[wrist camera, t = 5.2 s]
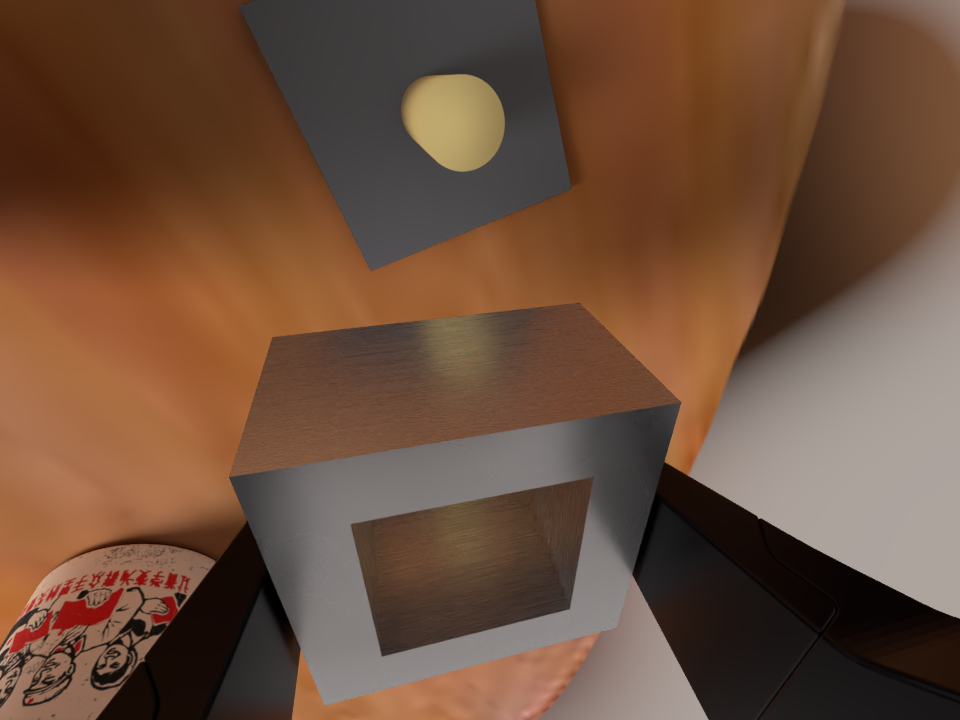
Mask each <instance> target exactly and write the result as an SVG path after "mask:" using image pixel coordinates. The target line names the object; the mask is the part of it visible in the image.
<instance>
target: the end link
mask: <svg viewBox="0 0 960 720" xmlns="http://www.w3.org/2000/svg"><path fill="white" fill-rule="evenodd" d="M680 405H681V402H680V401H679V400H678V399H677V398H676V397H675V396H674V395H673V394H672V393H671V392H670V391H669V390H668V389H667V388H666V387H665V386H664V385H663V384H662V383H661V382H660V381H659V380H658V379H657V378H656V377H655V376H654V375H653V374H652V373H651V372H650V371H649V370H648V369H647V368H646V367H645V366H644V365H643V364H642V363H641V362H640V361H638V360H637V359H636V358H635V357H634V356H633V355H632V354H631V353H630V352H629V351H628V350H627V349H626V348H625V347H624V346H623V345H622V344H621V343H620V342H619V341H618V340H617V339H616V338H615V337H614V336H613V335H612V334H611V333H610V332H609V331H608V330H607V329H606V328H605V327H604V326H603V325H602V324H601V323H600V322H599V321H598V320H597V319H596V318H595V317H593V316H592V315H591V314H590V313H589V312H588V311H587V310H586V309H585V308H584V307H583V306H582V305H581V304H580V303H575V304H566V305H557V306H548V307H539V308H530V309H521V310H512V311H503V312H494V313H485V314H476V315H467V316H458V317H449V318H440V319H431V320H422V321H413V322H404V323H395V324H386V325H377V326H368V327H359V328H350V329H341V330H332V331H323V332H314V333H305V334H296V335H287V336H278V337H272V340H271V343H270V347H269V350H268V353H267V356H266V360H265V363H264V366H263V369H262V373H261V376H260V379H259V382H258V385H257V389H256V392H255V395H254V398H253V402H252V405H251V408H250V411H249V415H248V418H247V421H246V424H245V428H244V431H243V434H242V437H241V441H240V444H239V447H238V450H237V454H236V457H235V460H234V463H233V466H232V470H231V473H230V476H229V478H230V480H231V483H232V485H233V487H234V490H235V492H236V495H237V497H238V499H239V502H240V504H241V507H242V509H243V511H244V514H245V516H246V519H247V521H248V523H249V526H250V528H251V531H252V533H253V535H254V538H255V540H256V543H257V545H258V547H259V550H260V552H261V555H262V557H263V559H264V562H265V564H266V567H267V569H268V571H269V574H270V576H271V579H272V581H273V583H274V586H275V588H276V590H277V593H278V595H279V598H280V600H281V602H282V605H283V607H284V610H285V612H286V614H287V617H288V619H289V622H290V624H291V626H292V629H293V631H294V634H295V636H296V638H297V641H298V643H299V646H300V648H301V650H302V653H303V655H304V658H305V660H306V662H307V665H308V667H309V670H310V672H311V674H312V677H313V679H314V682H315V684H316V686H317V689H318V691H319V694H320V696H321V698H322V701H323V703H324V706H325V705H329V704H332V703H336V702H340V701H344V700H347V699H351V698H355V697H359V696H362V695H366V694H370V693H373V692H377V691H381V690H385V689H388V688H392V687H396V686H400V685H403V684H407V683H411V682H415V681H418V680H422V679H426V678H430V677H433V676H437V675H441V674H445V673H448V672H452V671H456V670H459V669H463V668H467V667H471V666H474V665H478V664H482V663H486V662H489V661H493V660H497V659H501V658H504V657H508V656H512V655H516V654H519V653H523V652H527V651H530V650H534V649H538V648H542V647H545V646H549V645H553V644H557V643H560V642H564V641H568V640H572V639H575V638H579V637H583V636H587V635H590V634H594V633H598V632H602V631H605V630H609V629H613V628H616V627H617V625H618V622H619V618H620V615H621V611H622V608H623V604H624V601H625V597H626V594H627V590H628V587H629V583H630V580H631V576H632V573H633V569H634V566H635V562H636V559H637V555H638V552H639V548H640V545H641V541H642V538H643V534H644V531H645V527H646V524H647V520H648V517H649V513H650V510H651V506H652V503H653V499H654V496H655V492H656V489H657V485H658V482H659V478H660V475H661V471H662V468H663V464H664V461H665V457H666V454H667V451H668V447H669V444H670V440H671V437H672V433H673V430H674V426H675V423H676V419H677V416H678V412H679V409H680Z"/></svg>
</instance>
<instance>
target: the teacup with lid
mask: <svg viewBox="0 0 960 720" xmlns="http://www.w3.org/2000/svg"><path fill="white" fill-rule="evenodd" d="M215 562H216V561H214V560H213V559H211V558H209V557H207V556H205V555H202V554H200V553H197V552H194V551H191V550H187V549H183V548H179V547H174V546H167V545H157V544H130V545H120V546H113V547H108V548H103V549H99V550H95V551H92V552H89V553H85V554H83V555H80V556H78V557H76V558H73V559H71V560H69V561H67V562H65V563H64V564H62V565H60V566H59V567H57V568H56V569H55V570H53V571H52V572H51V573H50V574H48V575H47V576H46V577H45V578H44V579H43V581H42V582H41V583H40V584H39V586H38V587H37V589H36V590H35V592H34V593H33V595H32V597H31V598H30V600H29V602H28V603H27V605H26V606H25V608H24V610H23V611H22V613H21V615H20V616H19V618H18V620H17V621H16V623H15V624H14V626H13V628H12V629H11V631H10V633H9V634H8V636H7V637H6V639H5V641H4V642H3V644H2V646H1V647H0V720H95V719H96V718H97V717H98V715H99V714H100V713H101V712H102V710H103V709H104V708H105V707H106V705H107V704H108V703H109V701H110V700H111V699H112V698H113V696H114V695H115V694H116V693H117V691H118V690H119V689H120V687H121V686H122V685H123V684H124V682H125V681H126V680H127V678H128V677H129V676H130V674H131V673H132V672H133V670H134V669H135V668H136V666H137V665H138V664H139V663H140V662H141V661H144V656H145V655H146V653H147V652H148V651H149V650H150V648H151V647H152V646H153V644H154V643H155V642H156V640H157V639H158V638H159V636H160V635H161V634H162V632H163V631H164V630H165V628H166V627H167V626H168V624H169V623H170V622H171V620H172V619H173V618H174V616H175V615H176V614H177V612H178V611H179V610H180V609H181V607H182V606H183V605H184V603H185V602H186V601H187V599H188V598H189V597H190V595H191V594H192V593H193V591H194V590H195V589H196V587H197V586H198V585H199V583H200V582H201V581H202V579H203V578H204V577H205V575H206V574H207V573H208V572H209V570H210V569H211V568H212V566H213V565H214V564H215ZM144 662H145V661H144Z"/></svg>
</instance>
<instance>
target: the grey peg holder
mask: <svg viewBox="0 0 960 720" xmlns="http://www.w3.org/2000/svg"><path fill="white" fill-rule="evenodd" d="M239 9H240V11H241V13H242V15H243V17H244V19H245V21H246V23H247V25H248V27H249V29H250V31H251V33H252V35H253V37H254V39H255V41H256V43H257V45H258V47H259V49H260V51H261V53H262V55H263V57H264V59H265V61H266V63H267V64H268V66H269V68H270V70H271V72H272V74H273V76H274V78H275V80H276V82H277V84H278V86H279V88H280V90H281V92H282V94H283V96H284V98H285V100H286V102H287V104H288V106H289V108H290V110H291V112H292V114H293V116H294V118H295V120H296V122H297V124H298V126H299V128H300V130H301V132H302V134H303V136H304V138H305V140H306V142H307V144H308V146H309V148H310V150H311V152H312V154H313V156H314V158H315V160H316V162H317V164H318V166H319V168H320V170H321V172H322V174H323V176H324V178H325V180H326V182H327V184H328V186H329V188H330V190H331V192H332V194H333V196H334V198H335V200H336V202H337V204H338V206H339V208H340V210H341V212H342V214H343V216H344V218H345V220H346V222H347V224H348V226H349V228H350V230H351V232H352V234H353V236H354V238H355V240H356V242H357V244H358V246H359V248H360V250H361V252H362V254H363V256H364V258H365V260H366V262H367V264H368V266H369V268H370V270H371V271H372V270H375V269H377V268H379V267H382V266H384V265H387V264H389V263H392V262H394V261H397V260H399V259H402V258H404V257H406V256H409V255H411V254H414V253H416V252H419V251H421V250H424V249H426V248H428V247H431V246H433V245H436V244H438V243H441V242H443V241H446V240H448V239H450V238H453V237H455V236H458V235H460V234H463V233H465V232H468V231H470V230H472V229H475V228H477V227H480V226H482V225H485V224H487V223H490V222H492V221H495V220H497V219H499V218H502V217H504V216H507V215H509V214H512V213H514V212H517V211H519V210H521V209H524V208H526V207H529V206H531V205H534V204H536V203H539V202H541V201H543V200H546V199H548V198H551V197H553V196H556V195H558V194H561V193H563V192H566V191H568V190H570V189H572V188H571V183H570V178H569V173H568V168H567V163H566V157H565V152H564V147H563V142H562V137H561V132H560V126H559V121H558V116H557V111H556V106H555V101H554V95H553V90H552V85H551V80H550V75H549V69H548V64H547V59H546V54H545V49H544V44H543V38H542V33H541V28H540V23H539V18H538V13H537V7H536V2H535V0H254V1H252V2H249V3H246V4H244V5H241V6H239Z"/></svg>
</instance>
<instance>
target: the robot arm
mask: <svg viewBox="0 0 960 720" xmlns="http://www.w3.org/2000/svg"><path fill="white" fill-rule="evenodd" d="M632 575H633V577H634V579H635V581H636V582H637V585H638V586H639V588H640V590H641V592H642V594H643V596H644V598H645V600H646V602H647V603H648V605H649V607H650V609H651V611H652V613H653V615H654V617H655V619H656V621H657V623H658V624H659V626H660V628H661V630H662V632H663V634H664V636H665V638H666V640H667V642H668V643H669V645H670V647H671V649H672V651H673V653H674V655H675V657H676V659H677V661H678V662H679V664H680V666H681V668H682V670H683V672H684V674H685V676H686V678H687V679H688V681H689V683H690V685H691V687H692V689H693V691H694V693H695V695H696V697H697V699H698V700H699V702H700V704H701V706H702V708H703V710H704V712H705V714H706V716H707V718H708V719H709V720H960V619H959V618H956V617H953V616H950V615H948V614H945V613H943V612H940V611H938V610H935V609H933V608H931V607H929V606H927V605H925V604H922V603H921V602H919V601H916V600H915V599H913V598H911V597H908V596H906V595H905V594H903V593H901V592H899V591H897V590H895V589H893V588H891V587H889V586H887V585H885V584H883V583H881V582H879V581H877V580H875V579H873V578H871V577H869V576H867V575H865V574H863V573H861V572H859V571H857V570H855V569H853V568H851V567H849V566H847V565H845V564H843V563H841V562H839V561H837V560H835V559H833V558H832V557H830V556H828V555H826V554H824V553H822V552H820V551H818V550H816V549H814V548H812V547H811V546H809V545H807V544H805V543H803V542H802V541H800V540H798V539H796V538H794V537H793V536H791V535H789V534H787V533H786V532H784V531H782V530H780V529H779V528H777V527H775V526H773V525H771V524H770V523H768V522H766V521H765V520H763V519H758V517H757V516H756V515H754V514H752V513H751V512H749V511H747V510H746V509H744V508H742V507H741V506H739V505H737V504H736V503H734V502H732V501H730V500H729V499H727V498H725V497H723V496H722V495H720V494H718V493H716V492H715V491H713V490H711V489H710V488H708V487H706V486H705V485H703V484H701V483H699V482H698V481H696V480H694V479H693V478H691V477H689V476H688V475H686V474H684V473H683V472H681V471H679V470H677V469H676V468H674V467H672V466H671V465H669V464H667V463H665V462H664V464H663V468H662V471H661V475H660V478H659V482H658V485H657V489H656V492H655V496H654V499H653V503H652V506H651V510H650V513H649V517H648V520H647V524H646V527H645V531H644V534H643V538H642V541H641V545H640V548H639V552H638V555H637V559H636V562H635V566H634V569H633V573H632ZM300 649H301V648H300V646H299V643H298V641H297V638H296V636H295V634H294V631H293V629H292V626H291V624H290V622H289V619H288V617H287V614H286V612H285V610H284V607H283V605H282V602H281V600H280V598H279V595H278V593H277V590H276V588H275V586H274V583H273V581H272V579H271V576H270V574H269V571H268V569H267V567H266V564H265V562H264V559H263V557H262V555H261V552H260V550H259V547H258V545H257V543H256V540H255V538H254V535H253V533H252V531H251V528H250V526H249V523H248V521H246V523H245V524H244V525H243V527H242V528H241V529H240V531H239V532H238V533H237V534H236V536H235V537H234V538H233V540H232V541H231V542H230V544H229V545H228V546H227V548H226V549H225V550H224V552H223V553H222V554H221V556H220V557H219V558H218V560H217V561H216V562H215V564H214V565H213V566H212V568H211V569H210V570H209V572H208V573H207V574H206V575H205V577H204V578H203V579H202V581H201V582H200V583H199V585H198V586H197V587H196V589H195V590H194V591H193V593H192V594H191V595H190V597H189V598H188V599H187V601H186V602H185V603H184V605H183V606H182V607H181V609H180V610H179V611H178V612H177V614H176V615H175V616H174V618H173V619H172V620H171V622H170V623H169V624H168V626H167V627H166V628H165V630H164V631H163V632H162V634H161V635H160V636H159V638H158V639H157V640H156V642H155V643H154V644H153V646H152V647H151V648H150V650H149V651H148V652H147V653H146V655H145V656H144V661H145V662H144V661H141V662H140V663H139V664H138V665H137V666H136V668H135V669H134V670H133V672H132V673H131V674H130V676H129V677H128V678H127V680H126V681H125V682H124V684H123V685H122V686H121V687H120V689H119V690H118V691H117V693H116V694H115V695H114V696H113V698H112V699H111V700H110V701H109V703H108V704H107V705H106V707H105V708H104V709H103V710H102V712H101V713H100V714H99V715H98V717H97V718H96V719H95V720H292V713H293V705H294V697H295V689H296V681H297V673H298V665H299V657H300Z"/></svg>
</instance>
